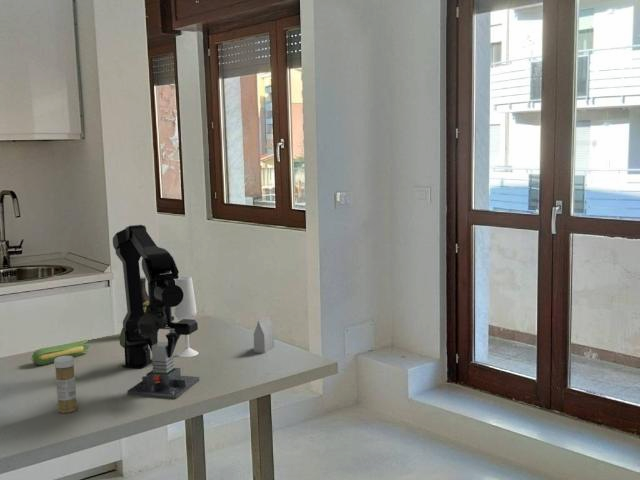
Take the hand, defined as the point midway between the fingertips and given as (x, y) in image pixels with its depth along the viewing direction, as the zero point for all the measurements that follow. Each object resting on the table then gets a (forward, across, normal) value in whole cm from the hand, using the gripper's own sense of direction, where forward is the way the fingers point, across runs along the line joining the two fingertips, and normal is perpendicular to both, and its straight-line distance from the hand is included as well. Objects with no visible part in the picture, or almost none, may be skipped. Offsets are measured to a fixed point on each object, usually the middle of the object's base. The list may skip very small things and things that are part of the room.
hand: (162, 356), depth 190 cm
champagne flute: (+9, -7, +29) cm, 31 cm away
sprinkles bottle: (+9, -16, -20) cm, 27 cm away
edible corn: (+9, -43, +17) cm, 47 cm away
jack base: (+8, 0, 0) cm, 8 cm away
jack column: (+4, 0, 0) cm, 4 cm away
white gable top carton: (+9, +15, +38) cm, 42 cm away
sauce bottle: (+9, -32, +46) cm, 57 cm away
